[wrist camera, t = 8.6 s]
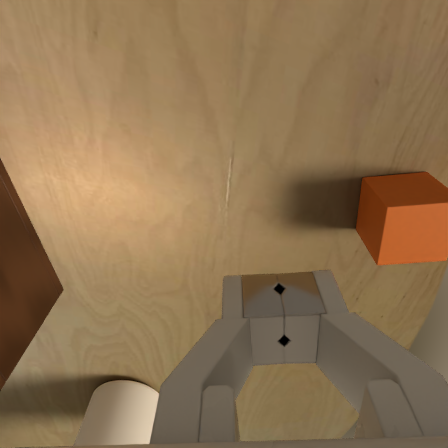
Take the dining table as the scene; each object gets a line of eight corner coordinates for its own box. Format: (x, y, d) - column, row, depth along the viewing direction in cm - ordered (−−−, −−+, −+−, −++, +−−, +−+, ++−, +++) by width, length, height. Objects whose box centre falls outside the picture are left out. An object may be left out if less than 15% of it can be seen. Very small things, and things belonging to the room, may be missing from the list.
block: (362, 177, 23) (387, 207, 19) (427, 171, 23) (465, 201, 19) (355, 229, 25) (377, 265, 22) (414, 225, 25) (446, 260, 21)
